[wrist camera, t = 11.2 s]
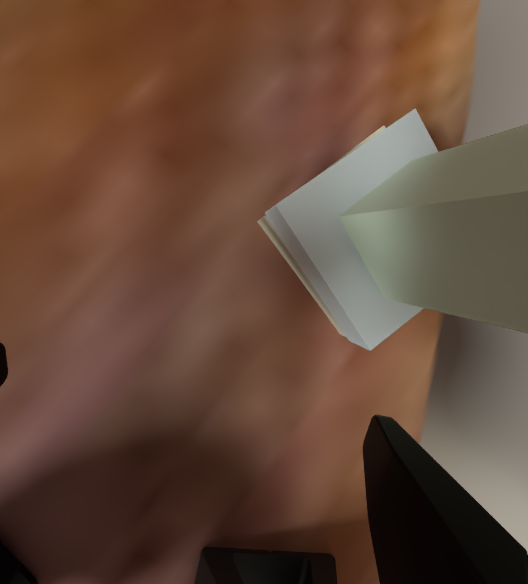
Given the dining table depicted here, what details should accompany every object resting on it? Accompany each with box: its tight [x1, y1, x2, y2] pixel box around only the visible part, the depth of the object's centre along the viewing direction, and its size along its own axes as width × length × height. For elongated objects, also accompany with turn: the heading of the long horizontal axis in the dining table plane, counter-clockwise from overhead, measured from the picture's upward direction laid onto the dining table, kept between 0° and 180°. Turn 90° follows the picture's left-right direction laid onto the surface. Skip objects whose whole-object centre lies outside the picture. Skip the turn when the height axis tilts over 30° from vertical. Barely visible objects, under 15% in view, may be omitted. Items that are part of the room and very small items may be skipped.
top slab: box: [265, 109, 438, 351], centre depth 19 cm, size 9×9×2 cm
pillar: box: [338, 124, 528, 333], centre depth 12 cm, size 5×5×12 cm
